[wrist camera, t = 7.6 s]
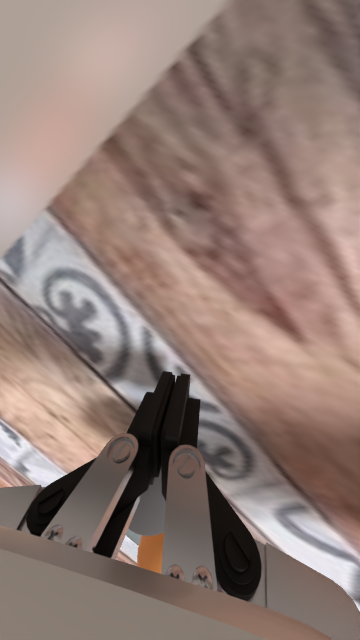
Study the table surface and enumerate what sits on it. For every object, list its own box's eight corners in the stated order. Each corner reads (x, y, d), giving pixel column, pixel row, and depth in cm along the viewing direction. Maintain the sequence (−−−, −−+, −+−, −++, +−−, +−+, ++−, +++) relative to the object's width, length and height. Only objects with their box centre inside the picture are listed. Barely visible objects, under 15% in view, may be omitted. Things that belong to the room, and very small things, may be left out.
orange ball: (119, 603, 12) (133, 596, 15) (201, 631, 11) (197, 618, 14) (145, 491, 16) (152, 504, 19) (205, 506, 15) (202, 517, 18)
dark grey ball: (83, 526, 10) (134, 451, 16) (166, 592, 9) (192, 485, 14) (97, 449, 9) (147, 397, 15) (193, 508, 8) (211, 426, 13)
